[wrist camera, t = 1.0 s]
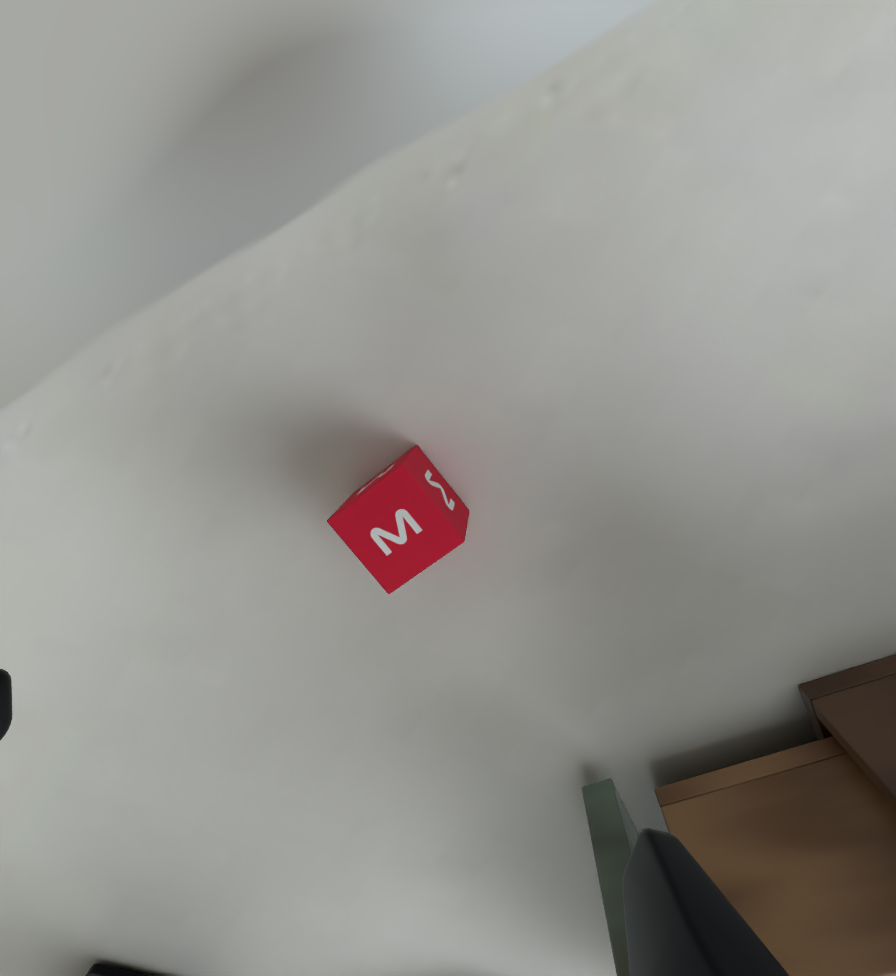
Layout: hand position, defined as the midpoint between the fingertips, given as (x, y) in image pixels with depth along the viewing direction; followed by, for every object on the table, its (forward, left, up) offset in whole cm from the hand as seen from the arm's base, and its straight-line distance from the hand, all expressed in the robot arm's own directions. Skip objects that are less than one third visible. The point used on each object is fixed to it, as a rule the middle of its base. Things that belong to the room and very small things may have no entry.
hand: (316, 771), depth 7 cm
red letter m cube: (-1, 0, -12) cm, 12 cm away
